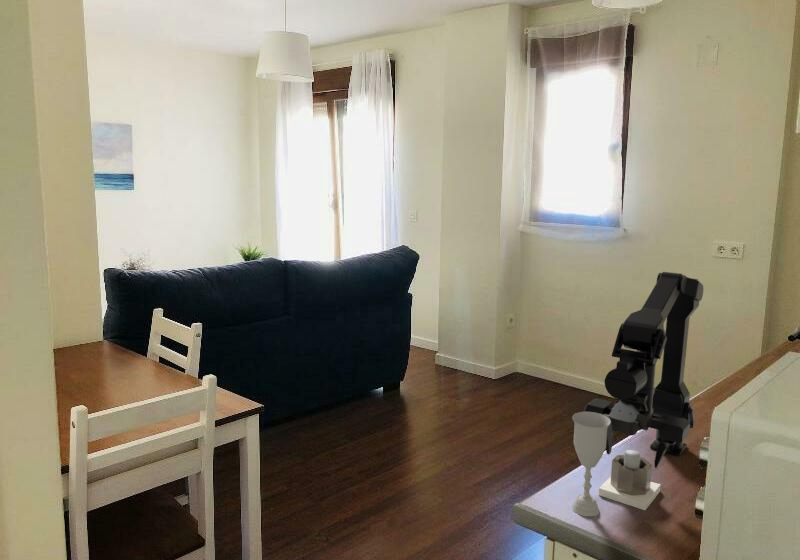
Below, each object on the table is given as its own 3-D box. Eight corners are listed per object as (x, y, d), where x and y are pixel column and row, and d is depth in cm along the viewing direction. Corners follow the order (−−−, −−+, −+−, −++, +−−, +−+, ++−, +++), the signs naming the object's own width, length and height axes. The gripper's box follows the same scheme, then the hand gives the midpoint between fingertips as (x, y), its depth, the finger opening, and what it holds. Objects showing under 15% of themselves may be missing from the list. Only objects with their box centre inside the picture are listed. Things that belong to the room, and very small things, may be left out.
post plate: (615, 477, 134) (617, 439, 132) (659, 491, 128) (663, 451, 127) (598, 495, 127) (601, 454, 125) (645, 510, 121) (648, 468, 120)
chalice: (606, 521, 118) (613, 428, 114) (567, 517, 119) (573, 425, 116) (602, 501, 125) (608, 413, 121) (566, 497, 126) (571, 410, 123)
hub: (618, 474, 132) (620, 451, 131) (653, 484, 128) (655, 461, 127) (606, 487, 127) (608, 464, 126) (642, 498, 123) (644, 474, 122)
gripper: (574, 385, 123) (569, 461, 126) (677, 408, 111) (669, 492, 114) (596, 370, 131) (592, 442, 134) (694, 390, 120) (686, 468, 123)
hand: (632, 460), depth 126 cm, fingers open, 9 cm apart
